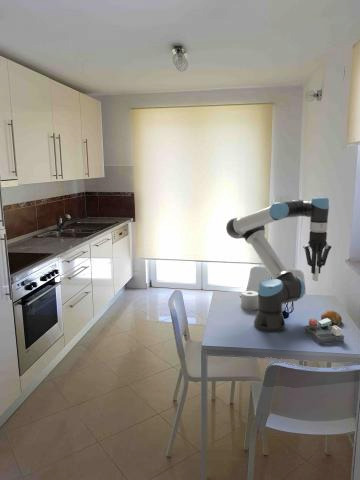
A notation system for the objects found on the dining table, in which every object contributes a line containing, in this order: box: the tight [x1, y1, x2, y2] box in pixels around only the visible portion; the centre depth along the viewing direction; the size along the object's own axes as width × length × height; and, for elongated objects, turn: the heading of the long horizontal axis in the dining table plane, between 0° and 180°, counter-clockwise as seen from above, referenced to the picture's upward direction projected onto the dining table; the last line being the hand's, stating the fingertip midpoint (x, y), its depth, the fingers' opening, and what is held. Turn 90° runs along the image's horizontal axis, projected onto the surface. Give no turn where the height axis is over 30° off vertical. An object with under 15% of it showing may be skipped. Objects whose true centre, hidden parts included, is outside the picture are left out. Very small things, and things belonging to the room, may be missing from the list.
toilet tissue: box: [239, 290, 258, 312], centre depth 217 cm, size 9×13×9 cm
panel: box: [303, 324, 345, 345], centre depth 177 cm, size 12×14×4 cm
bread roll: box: [320, 309, 343, 327], centre depth 194 cm, size 10×10×8 cm
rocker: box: [317, 318, 332, 327], centre depth 181 cm, size 5×4×2 cm
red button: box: [308, 318, 318, 326], centre depth 180 cm, size 4×4×2 cm
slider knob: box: [331, 325, 342, 336], centre depth 172 cm, size 2×4×4 cm, turn 9°
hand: (315, 280), depth 179 cm, fingers closed
